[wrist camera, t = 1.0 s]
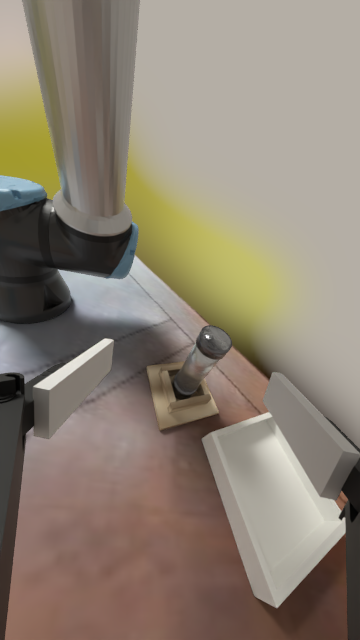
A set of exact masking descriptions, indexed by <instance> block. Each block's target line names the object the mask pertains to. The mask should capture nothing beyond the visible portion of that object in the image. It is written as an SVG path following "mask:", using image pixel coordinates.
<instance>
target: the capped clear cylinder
mask: <svg viewBox="0 0 360 640" xmlns="http://www.w3.org/2000/svg"><path fill="white" fill-rule="evenodd" d="M231 347H232V341H231V338H230V337H229V335H228V334H227V333H226V332H225V331H224V330H222V329H220V328H218V327H216V326H205V327H204V328H203V329H202V330H201V332H200V334H199V336H198V337H197V339H196V343H195V345H194V347H193V348H192V350H191V352H190V354H189V355H188V357H187V359H186V360H185V362H184V364H183V366H182V367H181V369H180V371H179V372H178V373H177V374H176V375H175V377H174V379H173V381H172V382H171V384H172V388H173V391H174V395H175V397H176V398H177V399H179V400H184V399H188V398H190V397H191V396H192V395H193V394H194V393H195V391H196V390H197V388H198V386H199V385H200V383H201V382H202V381H203V380H204V378H205V377H206V376H207V375H208V373H209V372H210V371H211V370H212V368H213V367H214V366H215V365H216V364H217V362H218V361H219V360H220V359H222V358H223V357H224V356H225V355H226V353H227V352H228V351H229V350H230V349H231Z"/></svg>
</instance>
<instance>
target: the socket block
mask: <svg viewBox="0 0 360 640" xmlns="http://www.w3.org/2000/svg"><path fill="white" fill-rule="evenodd" d="M184 362H185V361H183V362H175V363H167V364H158V365H150V366H147V368H146V369H147V373H148V378H149V383H150V388H151V393H152V398H153V403H154V407H155V412H156V417H157V422H158V427H159V431H161V430H165V429H168V428H171V427H175V426H178V425H182V424H185V423H188V422H192V421H195V420H199V419H202V418H205V417H209V416H212V415H216V414H218V413H219V411H218V409H217V407H216V404H215V402H214V400H213V397H212V395H211V393H210V390H209V388H208V386H207V383H206V381H205V379H204V380H203V381H202V382H201V383H200V385H199V386H198V388H197V390H196V391H195V393H194V394H193V395H192V396H191V397H190V398H188V399H184V400H179V399H177V398H176V397H175V395H174V391H173V388H172V384H171V382H172V381H173V379H174V377H175V375H176V374H177V373H178V372H179V371H180V369H181V367H182V366H183V364H184Z"/></svg>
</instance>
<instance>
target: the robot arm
mask: <svg viewBox="0 0 360 640" xmlns="http://www.w3.org/2000/svg"><path fill="white" fill-rule="evenodd" d="M22 2H23V7H24V12H25V16H26V21H27V26H28V31H29V35H30V40H31V45H32V50H33V55H34V60H35V64H36V69H37V74H38V79H39V83H40V88H41V93H42V98H43V103H44V107H45V113H46V117H47V122H48V127H49V132H50V137H51V141H52V146H53V151H54V156H55V161H56V165H57V170H58V175H59V180H60V185H61V190H59V191H58V192H57V193H56V194H55V196H54V197H53V200H50V199H47V198H46V197H47V193H46V192H45V190H44V188H43V187H42V186H41V185H40V184H36V183H35V182H32V181H29V180H24V179H20V178H15V177H9V176H1V175H0V320H3V321H6V322H12V323H35V322H41V321H45V320H49V319H52V318H54V317H56V316H58V315H60V314H62V313H63V312H64V311H65V310H66V309H67V308H68V307H69V305H70V303H71V296H70V291H69V288H68V286H67V285H66V283H65V281H64V280H63V278H62V276H61V275H60V273H59V271H58V269H59V270H65V271H70V272H76V273H81V274H87V275H93V276H98V277H104V278H115V279H123V278H125V277H126V276H127V275H128V273H129V271H130V269H131V266H132V263H133V259H134V253H135V250H136V246H137V240H138V226H137V225H136V224H135V223H133V222H132V216H131V212H130V210H129V208H128V207H127V206H126V204H125V203H124V198H125V185H126V172H127V159H128V146H129V133H130V120H131V107H132V94H133V81H134V68H135V56H136V43H137V30H138V16H139V4H140V0H22ZM113 346H114V340H111V339H106V338H105V339H103V340H102V341H100V342H99V343H97V344H96V345H94V346H93V347H91V348H90V349H88V350H87V351H85V352H84V353H82V354H81V355H79V356H78V357H76V358H75V359H73V360H72V361H70V362H69V363H67V364H66V363H61V364H58V365H55V366H53V367H51V368H50V369H48V370H47V371H46V372H43V373H42V374H40V376H37V377H35V378H34V379H32V380H31V381H29V382H27V383H26V384H24V376H23V375H22V374H20V373H4V374H0V640H5V630H6V621H7V612H8V602H9V593H10V584H11V574H12V565H13V556H14V546H15V537H16V528H17V518H18V509H19V500H20V490H21V481H22V472H23V462H24V453H25V444H26V433H27V432H28V431H29V430H30V429H31V428H32V427H33V426H34V436H36V437H41V438H45V439H50V438H51V437H52V435H53V434H54V433H55V432H56V431H57V430H58V429H59V428H60V427H61V425H62V424H63V423H64V422H65V421H66V420H67V419H68V418H69V416H70V415H71V414H72V413H73V412H74V411H75V410H76V409H77V407H78V406H79V405H80V404H81V403H82V402H83V401H84V400H85V399H86V397H87V396H88V395H89V394H90V393H91V392H92V391H93V390H94V388H95V387H96V386H97V385H98V384H99V383H100V382H101V381H102V380H103V378H104V377H105V376H106V375H107V374H108V373H109V372H110V371H111V366H112V356H113ZM263 402H264V404H265V405H266V407H267V409H268V411H269V412H270V414H271V416H272V417H273V419H274V421H275V422H276V424H277V426H278V427H279V429H280V431H281V432H282V434H283V436H284V437H285V439H286V441H287V442H288V444H289V446H290V447H291V449H292V451H293V453H294V454H295V456H296V458H297V459H298V461H299V463H300V464H301V466H302V468H303V469H304V471H305V473H306V474H307V476H308V478H309V479H310V481H311V483H312V484H313V486H314V488H315V490H316V491H317V493H318V495H319V496H320V497H323V498H328V499H332V500H337V498H338V496H339V494H340V492H341V491H343V493H344V494H345V496H346V497H347V498H348V501H347V503H346V505H345V506H344V508H343V510H342V512H341V513H340V515H339V519H340V520H341V521H342V519H343V517H345V524H346V573H347V622H348V640H360V449H359V448H358V447H357V446H356V445H355V444H354V443H353V442H352V441H351V440H350V439H349V438H347V436H346V435H345V434H344V433H343V432H341V430H340V429H339V428H338V427H337V426H336V425H335V424H334V423H333V422H332V421H330V420H329V419H328V418H326V417H325V416H323V415H322V414H321V413H320V412H319V411H318V410H317V409H316V408H315V407H314V406H313V405H312V404H311V403H310V402H309V401H308V400H307V399H306V398H305V396H303V394H302V393H301V392H300V391H299V390H298V389H297V388H296V387H295V386H294V385H292V383H291V382H290V381H289V380H288V379H287V378H286V377H285V376H284V375H283V374H282V373H276V372H272V375H271V379H270V381H269V384H268V387H267V390H266V393H265V395H264V398H263Z"/></svg>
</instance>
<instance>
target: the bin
mask: <svg viewBox="0 0 360 640" xmlns="http://www.w3.org/2000/svg"><path fill="white" fill-rule="evenodd" d="M201 440H202V443H203V446H204V449H205V452H206V455H207V457H208V460H209V463H210V466H211V469H212V472H213V475H214V478H215V481H216V484H217V487H218V490H219V493H220V496H221V499H222V502H223V505H224V508H225V511H226V514H227V517H228V520H229V523H230V526H231V529H232V532H233V535H234V538H235V541H236V544H237V547H238V550H239V553H240V556H241V559H242V562H243V565H244V568H245V571H246V574H247V577H248V579H249V582H250V585H251V588H252V591H253V594H254V596H255V597H257V598H258V599H260V600H262V601H264V602H266V603H268V604H270V605H271V606H273V607H275V608H278V607H279V606H280V604H281V603H282V602H283V601H284V600H285V599H286V598H287V597H288V596H289V595H290V593H291V592H292V591H293V590H294V589H295V588H296V587H297V586H298V585H299V584H300V582H301V581H302V580H303V579H304V578H305V577H306V576H307V575H308V574H309V573H310V571H311V570H312V569H313V568H314V567H315V566H316V565H317V564H318V563H319V562H320V560H321V559H322V558H323V557H324V556H325V555H326V554H327V553H328V552H329V550H330V549H331V548H332V547H333V546H334V545H335V544H336V543H337V542H338V541H339V539H340V538H341V537H342V536H343V535H344V534H345V533H346V524H345V517H343V519H342V521H341V520H340V519H339V515H340V513H341V510H340V509H339V507H338V506H337V504H336V503H335V501H334V500H332V499H328V498H323V497H320V496H319V495H318V493H317V491H316V490H315V488H314V486H313V484H312V483H311V481H310V479H309V478H308V476H307V474H306V473H305V471H304V469H303V468H302V466H301V464H300V463H299V461H298V459H297V458H296V456H295V454H294V453H293V451H292V449H291V447H290V446H289V444H288V442H287V441H286V439H285V437H284V436H283V434H282V432H281V431H280V429H279V427H278V426H277V424H276V422H275V421H274V419H273V417H272V416H271V414H270V412H269V413H266V414H263V415H260V416H257V417H254V418H251V419H248V420H245V421H242V422H239V423H236V424H234V425H231V426H228V427H225V428H222V429H219V430H216V431H213V432H211V433H209V434H208V435H206V436H205V437H203V438H202V439H201Z"/></svg>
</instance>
